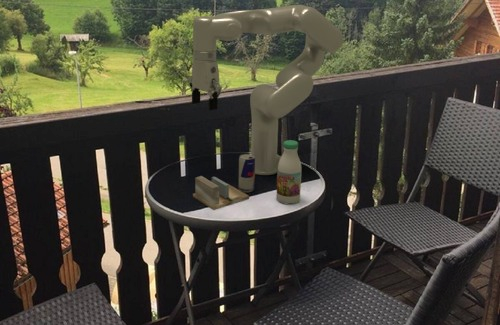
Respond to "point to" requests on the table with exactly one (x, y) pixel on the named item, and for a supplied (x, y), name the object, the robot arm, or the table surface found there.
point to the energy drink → (246, 173)
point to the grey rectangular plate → (222, 187)
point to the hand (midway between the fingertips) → (204, 106)
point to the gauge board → (231, 195)
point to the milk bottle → (289, 174)
